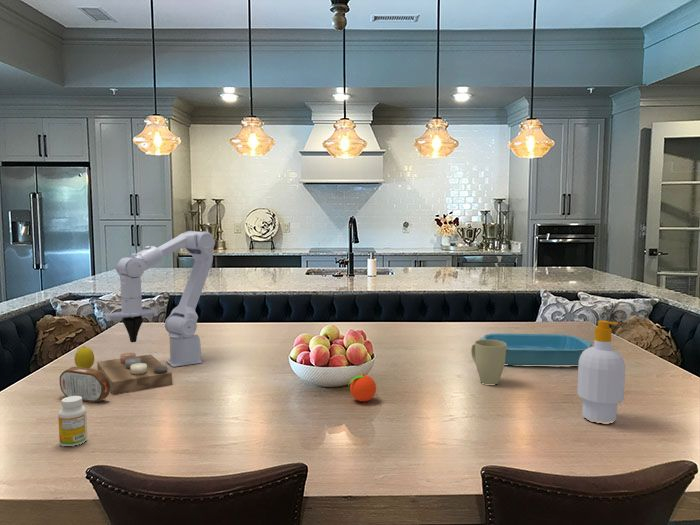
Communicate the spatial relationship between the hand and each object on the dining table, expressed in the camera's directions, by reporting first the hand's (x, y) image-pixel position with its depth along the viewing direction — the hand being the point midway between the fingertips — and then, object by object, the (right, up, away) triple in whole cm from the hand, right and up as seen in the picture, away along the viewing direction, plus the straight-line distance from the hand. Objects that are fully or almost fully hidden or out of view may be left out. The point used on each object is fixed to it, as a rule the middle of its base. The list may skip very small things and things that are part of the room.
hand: (133, 341), depth 166 cm
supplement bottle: (+6, -15, -48) cm, 50 cm away
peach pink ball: (-3, -10, +3) cm, 10 cm away
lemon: (-17, -10, +4) cm, 20 cm away
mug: (+106, -12, -5) cm, 107 cm away
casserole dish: (+128, -10, +19) cm, 130 cm away
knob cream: (+5, -11, -9) cm, 15 cm away
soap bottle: (+126, -14, -34) cm, 132 cm away
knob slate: (+1, -10, -3) cm, 11 cm away
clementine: (+69, -13, -21) cm, 73 cm away
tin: (-5, -13, -21) cm, 25 cm away
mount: (+1, -11, -3) cm, 11 cm away
